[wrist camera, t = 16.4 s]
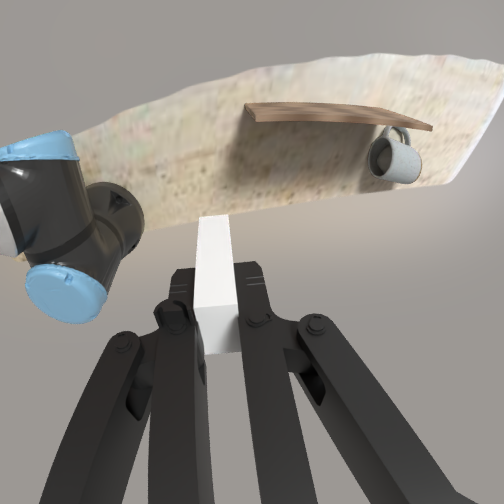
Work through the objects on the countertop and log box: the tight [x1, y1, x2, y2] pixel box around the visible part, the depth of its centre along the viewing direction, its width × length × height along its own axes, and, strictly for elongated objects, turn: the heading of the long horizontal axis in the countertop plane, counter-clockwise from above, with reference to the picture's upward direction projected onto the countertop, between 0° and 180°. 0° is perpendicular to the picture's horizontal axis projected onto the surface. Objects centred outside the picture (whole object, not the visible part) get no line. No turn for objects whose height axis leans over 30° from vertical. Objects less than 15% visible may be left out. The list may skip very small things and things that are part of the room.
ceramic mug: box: [368, 126, 422, 184], centre depth 44 cm, size 11×8×8 cm
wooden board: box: [245, 102, 433, 131], centre depth 36 cm, size 24×1×15 cm, turn 92°
